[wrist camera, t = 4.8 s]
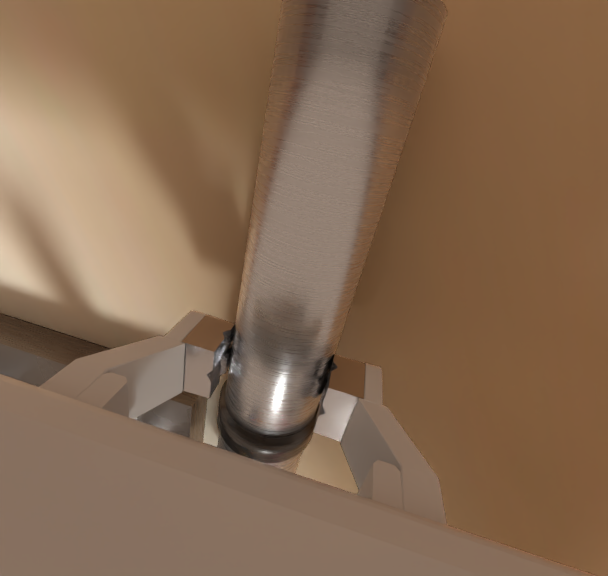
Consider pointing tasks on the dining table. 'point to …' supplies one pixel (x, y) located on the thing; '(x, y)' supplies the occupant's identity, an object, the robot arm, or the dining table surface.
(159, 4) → the dining table surface
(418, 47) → the tube
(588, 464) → the dining table surface
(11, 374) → the grey mounting plate
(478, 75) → the dining table surface
